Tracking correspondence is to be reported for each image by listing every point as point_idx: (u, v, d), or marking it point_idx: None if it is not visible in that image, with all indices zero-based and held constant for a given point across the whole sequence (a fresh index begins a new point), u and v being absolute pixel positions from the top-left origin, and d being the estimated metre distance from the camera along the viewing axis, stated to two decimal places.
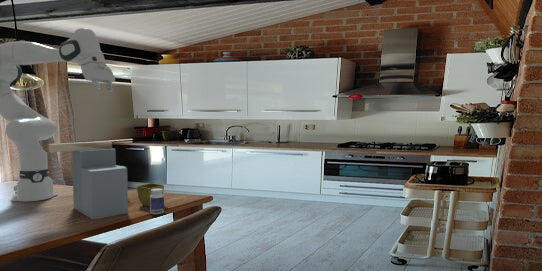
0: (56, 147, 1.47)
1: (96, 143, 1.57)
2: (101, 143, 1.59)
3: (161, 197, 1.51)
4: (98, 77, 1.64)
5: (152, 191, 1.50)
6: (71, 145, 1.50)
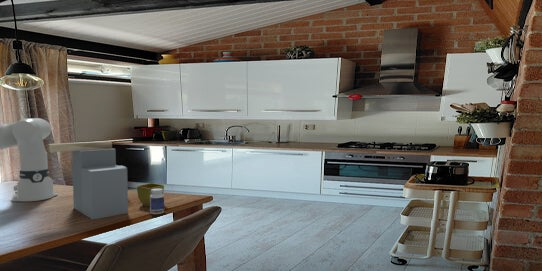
0: (56, 147, 1.47)
1: (96, 143, 1.57)
2: (101, 143, 1.59)
3: (161, 197, 1.51)
4: None
5: (152, 191, 1.50)
6: (71, 145, 1.50)
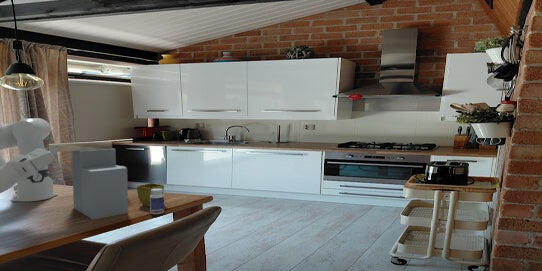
0: None
1: (96, 143, 1.57)
2: (101, 143, 1.59)
3: (161, 197, 1.51)
4: (46, 151, 1.41)
5: (152, 191, 1.50)
6: (71, 145, 1.50)
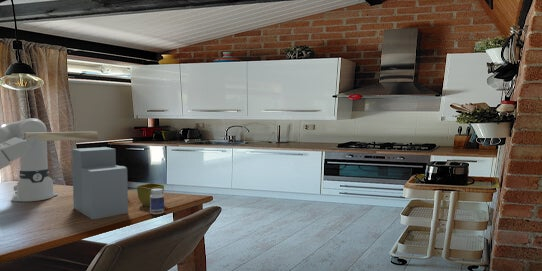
0: None
1: (80, 133, 1.41)
2: (85, 133, 1.43)
3: (161, 197, 1.51)
4: (21, 139, 1.25)
5: (152, 191, 1.50)
6: (51, 134, 1.34)
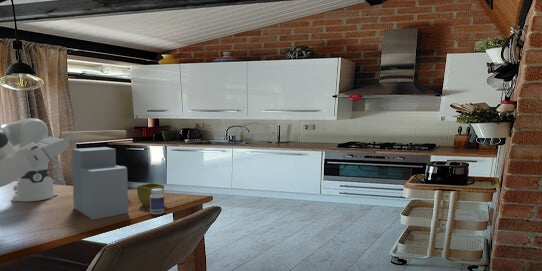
0: None
1: (110, 132, 1.49)
2: (115, 132, 1.51)
3: (161, 197, 1.51)
4: (58, 138, 1.33)
5: (152, 191, 1.50)
6: (84, 133, 1.42)
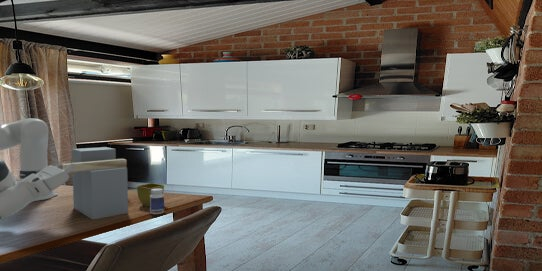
0: None
1: (110, 162, 1.50)
2: (115, 161, 1.51)
3: (161, 197, 1.51)
4: (59, 169, 1.34)
5: (152, 191, 1.50)
6: (85, 165, 1.43)
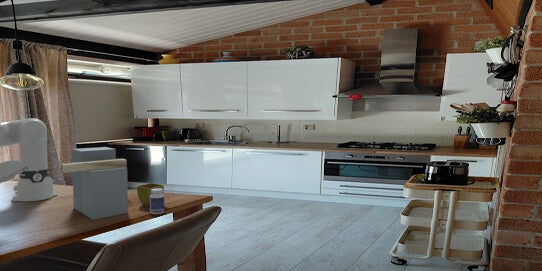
0: (70, 167, 1.39)
1: (110, 162, 1.50)
2: (115, 161, 1.51)
3: (161, 197, 1.51)
4: None
5: (152, 191, 1.50)
6: (85, 165, 1.43)
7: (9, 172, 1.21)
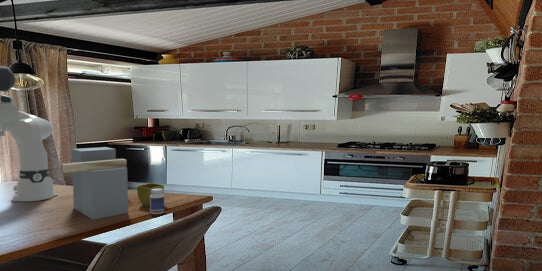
0: (70, 167, 1.39)
1: (110, 162, 1.50)
2: (115, 161, 1.51)
3: (161, 197, 1.51)
4: None
5: (152, 191, 1.50)
6: (85, 165, 1.43)
7: (18, 112, 1.37)
